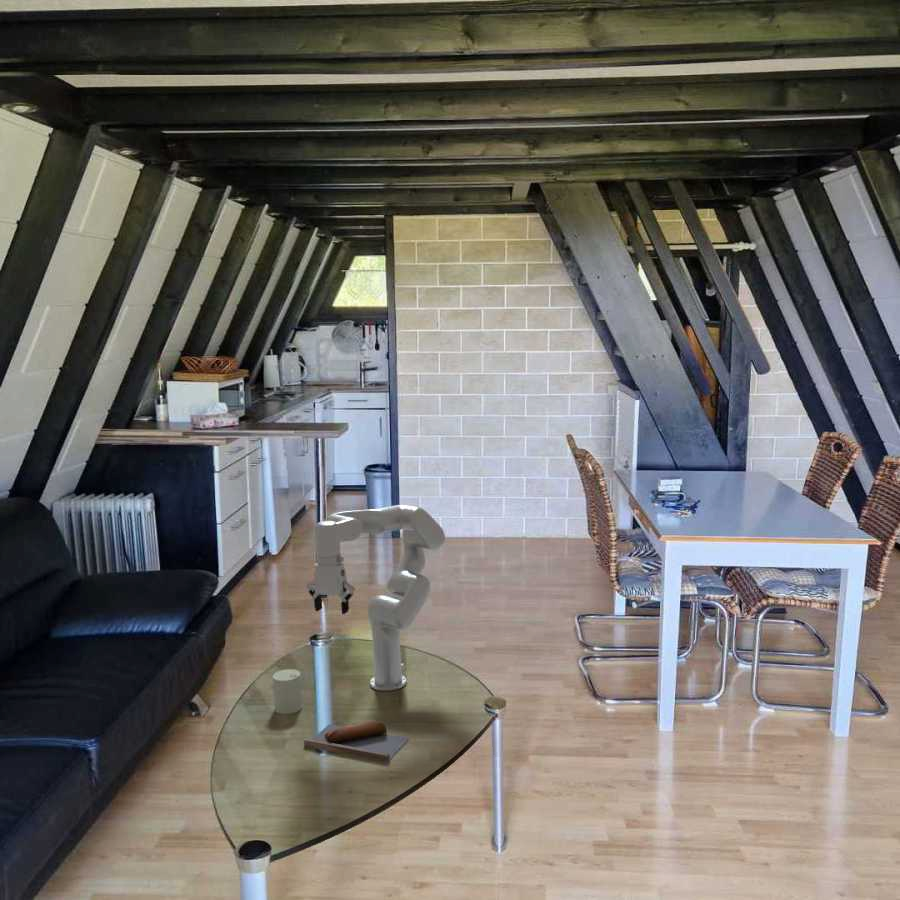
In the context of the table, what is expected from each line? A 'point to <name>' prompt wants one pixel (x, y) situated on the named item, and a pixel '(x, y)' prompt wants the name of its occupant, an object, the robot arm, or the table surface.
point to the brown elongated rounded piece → (355, 731)
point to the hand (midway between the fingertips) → (331, 611)
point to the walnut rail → (347, 750)
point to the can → (287, 691)
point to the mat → (369, 741)
